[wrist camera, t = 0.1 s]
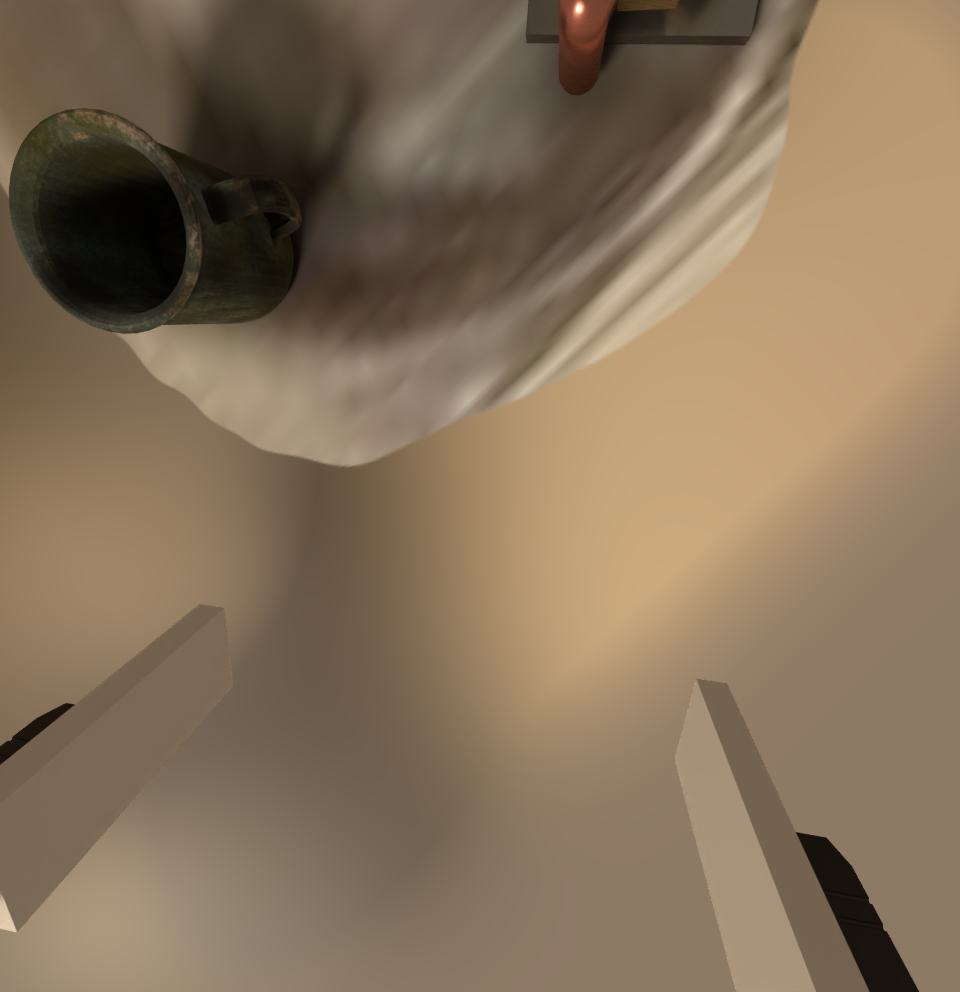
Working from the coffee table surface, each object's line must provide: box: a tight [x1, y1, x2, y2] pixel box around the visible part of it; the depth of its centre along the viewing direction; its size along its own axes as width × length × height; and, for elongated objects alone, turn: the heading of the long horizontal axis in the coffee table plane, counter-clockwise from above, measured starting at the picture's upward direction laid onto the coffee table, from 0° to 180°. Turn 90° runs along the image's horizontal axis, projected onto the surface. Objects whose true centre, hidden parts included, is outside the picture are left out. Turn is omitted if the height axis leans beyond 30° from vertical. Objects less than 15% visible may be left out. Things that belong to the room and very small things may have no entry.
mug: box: [9, 108, 302, 334], centre depth 32 cm, size 11×15×12 cm
